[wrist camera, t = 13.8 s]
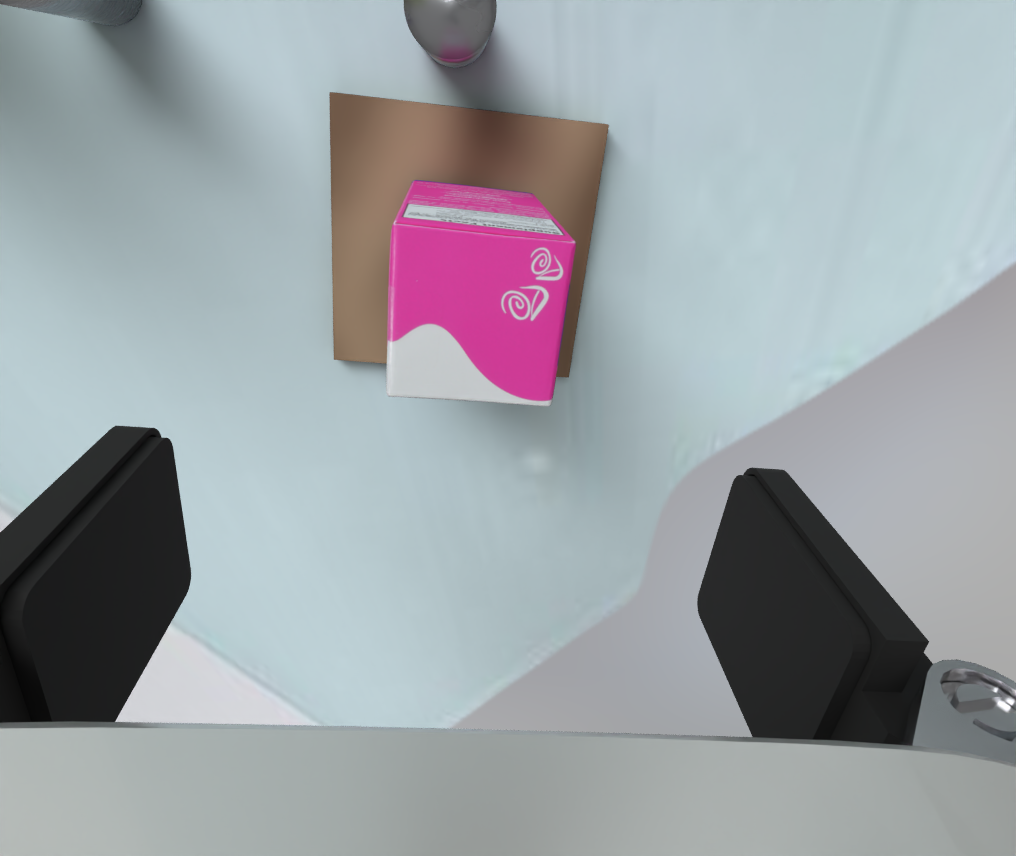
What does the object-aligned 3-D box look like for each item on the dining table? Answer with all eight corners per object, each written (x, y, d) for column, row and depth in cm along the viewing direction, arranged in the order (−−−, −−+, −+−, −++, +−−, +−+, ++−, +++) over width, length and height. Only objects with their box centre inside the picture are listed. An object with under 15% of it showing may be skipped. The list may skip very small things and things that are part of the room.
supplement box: (524, 313, 32) (551, 415, 22) (404, 302, 32) (374, 400, 21) (540, 191, 30) (580, 241, 19) (410, 175, 29) (379, 219, 19)
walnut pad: (604, 124, 29) (608, 124, 28) (565, 370, 35) (568, 377, 34) (333, 92, 28) (329, 92, 27) (337, 352, 34) (334, 359, 33)
